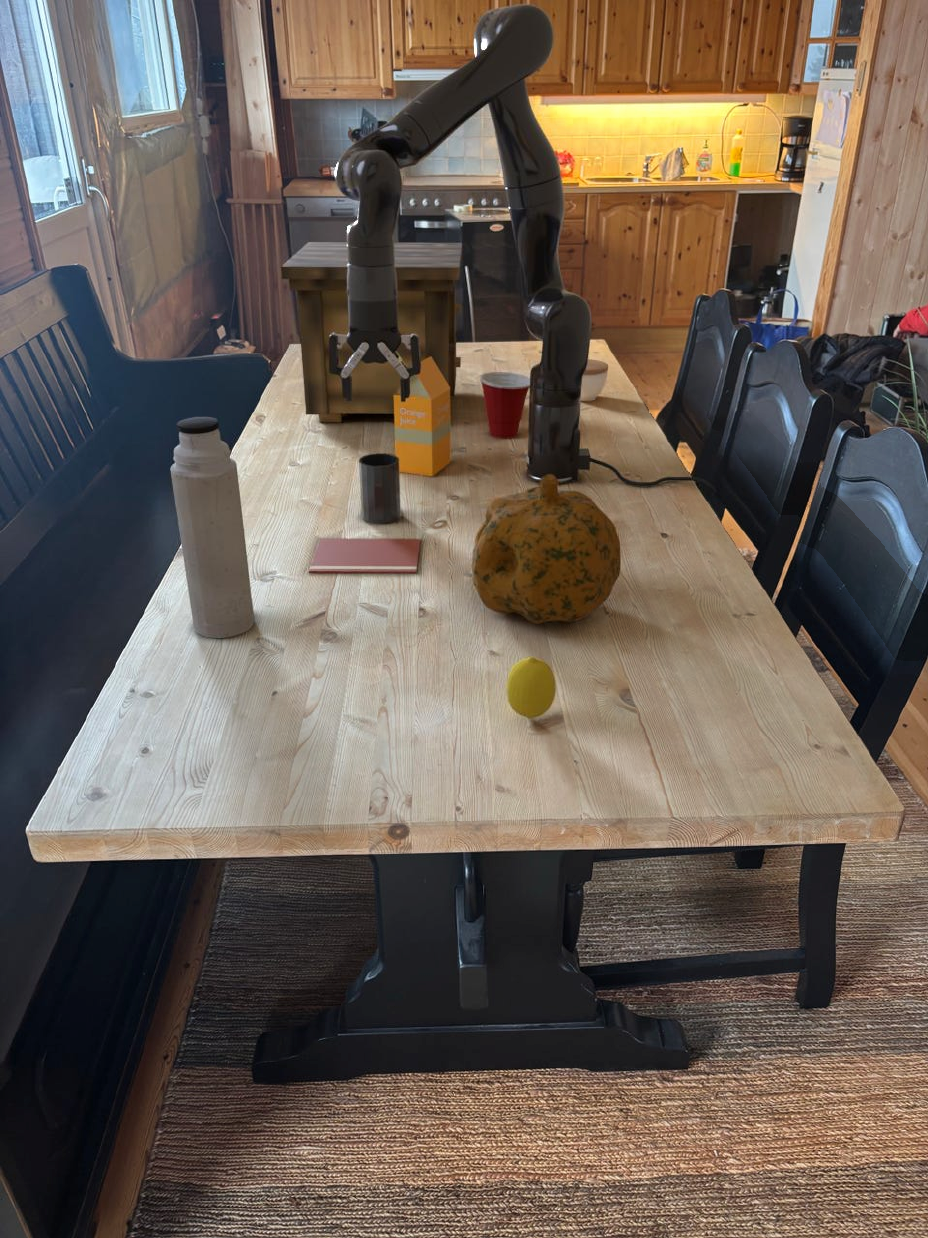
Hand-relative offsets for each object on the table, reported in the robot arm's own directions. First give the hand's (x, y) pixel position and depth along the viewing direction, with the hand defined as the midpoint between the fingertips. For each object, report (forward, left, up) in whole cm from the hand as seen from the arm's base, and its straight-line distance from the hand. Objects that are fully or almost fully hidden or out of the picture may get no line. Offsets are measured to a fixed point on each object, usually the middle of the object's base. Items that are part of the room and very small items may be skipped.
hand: (376, 400), depth 156 cm
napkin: (+1, +16, -20) cm, 26 cm away
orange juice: (-6, -25, -20) cm, 33 cm away
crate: (+5, -66, -20) cm, 69 cm away
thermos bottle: (+18, +38, -20) cm, 47 cm away
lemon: (-22, +60, -20) cm, 67 cm away
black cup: (0, 0, -20) cm, 20 cm away
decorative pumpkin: (-25, +32, -20) cm, 45 cm away
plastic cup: (-22, -45, -20) cm, 54 cm away
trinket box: (-41, -73, -20) cm, 86 cm away
